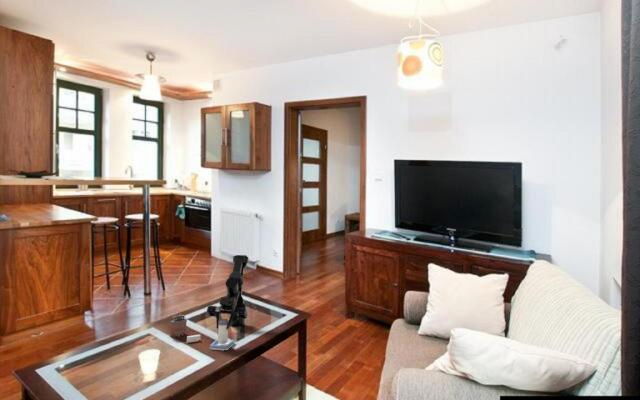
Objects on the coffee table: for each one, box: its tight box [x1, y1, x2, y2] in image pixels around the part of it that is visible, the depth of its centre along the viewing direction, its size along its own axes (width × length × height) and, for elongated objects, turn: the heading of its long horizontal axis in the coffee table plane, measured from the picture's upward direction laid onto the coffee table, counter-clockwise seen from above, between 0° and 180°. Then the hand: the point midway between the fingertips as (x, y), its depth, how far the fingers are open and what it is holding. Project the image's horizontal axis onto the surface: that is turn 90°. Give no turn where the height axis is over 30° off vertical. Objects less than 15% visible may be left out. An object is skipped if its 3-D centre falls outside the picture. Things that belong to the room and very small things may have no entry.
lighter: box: [169, 314, 188, 338], centre depth 177 cm, size 8×3×10 cm, turn 134°
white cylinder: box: [217, 318, 229, 344], centre depth 165 cm, size 4×4×10 cm
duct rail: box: [186, 334, 202, 343], centre depth 169 cm, size 6×2×2 cm, turn 122°
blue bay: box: [209, 337, 235, 351], centre depth 165 cm, size 9×8×2 cm
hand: (222, 328), depth 163 cm, fingers closed on white cylinder, 4 cm apart
